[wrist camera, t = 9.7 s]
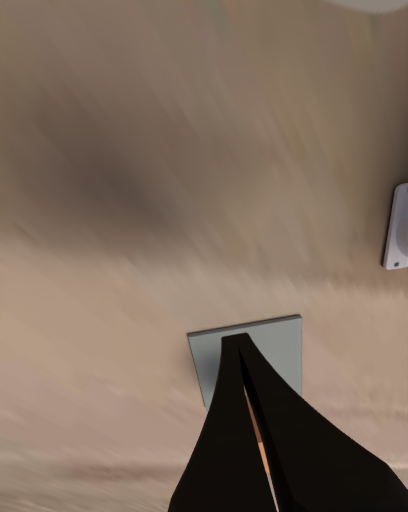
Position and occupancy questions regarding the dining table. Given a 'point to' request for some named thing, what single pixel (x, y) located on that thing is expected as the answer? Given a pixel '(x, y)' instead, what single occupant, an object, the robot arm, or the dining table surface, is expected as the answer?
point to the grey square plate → (267, 341)
